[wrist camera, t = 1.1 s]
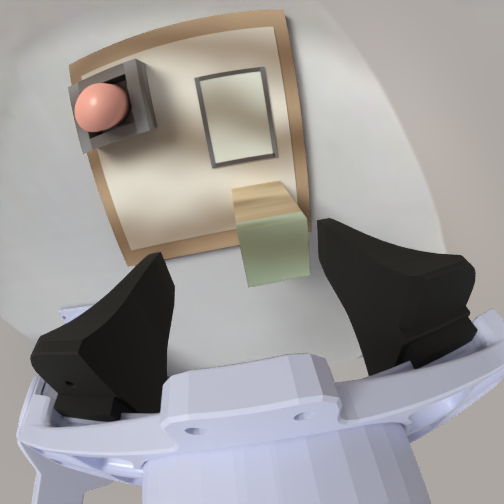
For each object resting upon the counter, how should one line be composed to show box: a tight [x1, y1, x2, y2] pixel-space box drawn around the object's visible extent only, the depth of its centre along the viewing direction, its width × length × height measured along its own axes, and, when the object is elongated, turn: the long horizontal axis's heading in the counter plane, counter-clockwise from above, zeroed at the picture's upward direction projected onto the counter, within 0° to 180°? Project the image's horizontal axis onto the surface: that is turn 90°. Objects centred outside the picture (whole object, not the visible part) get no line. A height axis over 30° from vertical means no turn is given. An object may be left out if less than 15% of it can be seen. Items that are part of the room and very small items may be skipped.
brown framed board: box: [68, 10, 311, 266], centre depth 17 cm, size 18×16×3 cm
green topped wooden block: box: [231, 180, 310, 288], centre depth 17 cm, size 4×4×7 cm
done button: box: [75, 83, 132, 132], centre depth 13 cm, size 3×3×3 cm
